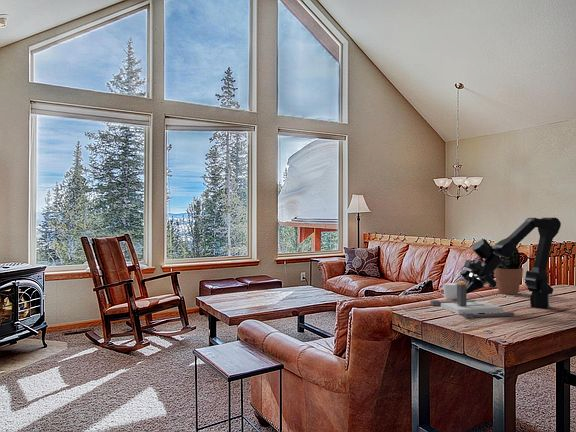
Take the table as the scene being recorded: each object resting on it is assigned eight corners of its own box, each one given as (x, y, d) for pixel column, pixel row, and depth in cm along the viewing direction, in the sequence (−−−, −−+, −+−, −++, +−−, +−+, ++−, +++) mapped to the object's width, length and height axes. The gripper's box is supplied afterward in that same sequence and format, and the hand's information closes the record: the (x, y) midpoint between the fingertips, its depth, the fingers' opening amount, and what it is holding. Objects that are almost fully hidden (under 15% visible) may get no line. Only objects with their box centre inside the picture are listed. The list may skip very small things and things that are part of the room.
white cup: (459, 299, 210) (459, 285, 210) (444, 299, 211) (444, 284, 211) (456, 297, 217) (456, 282, 217) (442, 296, 218) (442, 282, 218)
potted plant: (490, 290, 235) (489, 243, 235) (517, 291, 233) (516, 243, 233) (498, 295, 221) (498, 245, 221) (527, 295, 219) (527, 245, 219)
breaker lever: (462, 304, 187) (462, 281, 187) (466, 305, 184) (466, 282, 184) (457, 304, 187) (456, 281, 187) (460, 305, 184) (460, 282, 184)
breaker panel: (482, 305, 195) (482, 301, 195) (503, 312, 181) (503, 307, 181) (440, 307, 191) (440, 302, 191) (458, 314, 178) (458, 309, 178)
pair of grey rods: (473, 302, 202) (473, 298, 202) (515, 316, 174) (515, 311, 174) (430, 304, 198) (430, 300, 198) (466, 318, 170) (466, 313, 170)
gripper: (463, 251, 196) (440, 277, 194) (489, 254, 178) (464, 283, 176) (480, 268, 197) (457, 294, 195) (507, 274, 179) (482, 302, 177)
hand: (464, 293), depth 186 cm, fingers closed, pressing on breaker lever
